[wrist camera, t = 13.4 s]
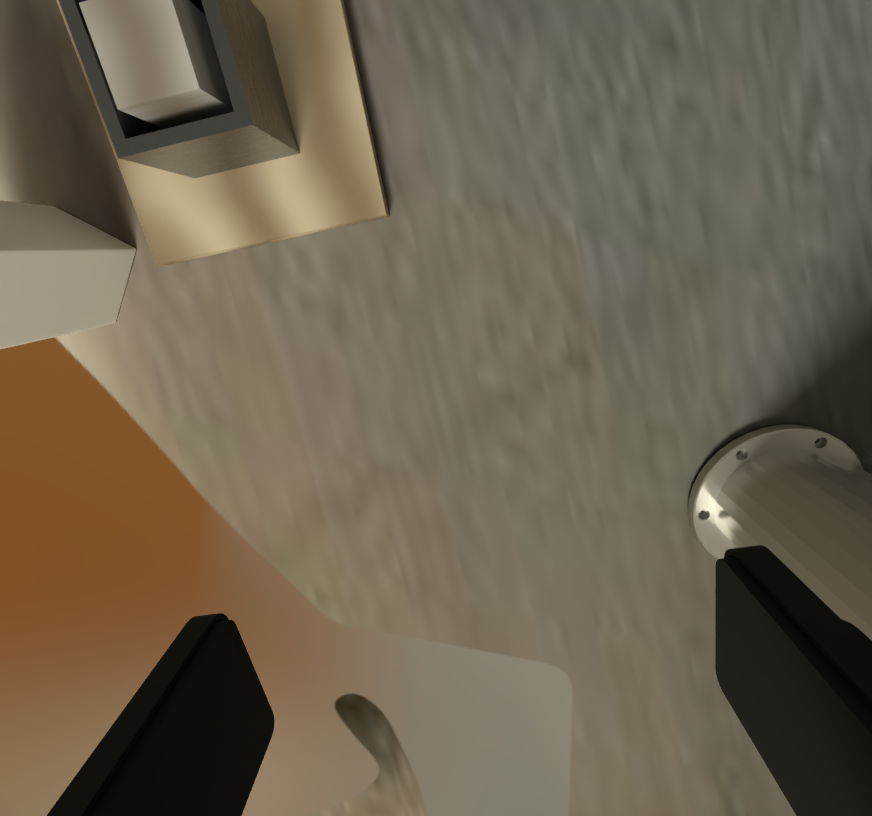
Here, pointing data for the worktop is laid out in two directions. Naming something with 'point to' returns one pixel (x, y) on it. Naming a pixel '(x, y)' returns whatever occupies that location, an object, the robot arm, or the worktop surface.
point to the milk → (56, 274)
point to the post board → (284, 180)
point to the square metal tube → (217, 136)
